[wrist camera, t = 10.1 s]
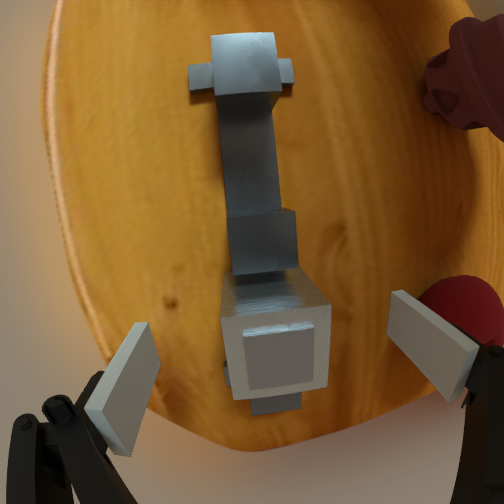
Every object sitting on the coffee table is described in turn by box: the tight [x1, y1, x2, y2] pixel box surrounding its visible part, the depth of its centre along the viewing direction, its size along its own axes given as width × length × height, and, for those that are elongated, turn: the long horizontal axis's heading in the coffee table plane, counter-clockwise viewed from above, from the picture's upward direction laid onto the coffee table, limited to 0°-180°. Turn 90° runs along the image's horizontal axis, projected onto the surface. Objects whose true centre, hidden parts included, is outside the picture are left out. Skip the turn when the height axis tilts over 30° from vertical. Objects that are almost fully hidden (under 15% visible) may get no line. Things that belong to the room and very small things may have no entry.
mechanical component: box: [423, 14, 504, 142], centre depth 11 cm, size 12×10×10 cm
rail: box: [188, 33, 301, 416], centre depth 16 cm, size 24×7×4 cm, turn 5°
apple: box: [419, 275, 504, 347], centre depth 17 cm, size 9×9×10 cm
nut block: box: [220, 267, 332, 400], centre depth 16 cm, size 5×5×7 cm
